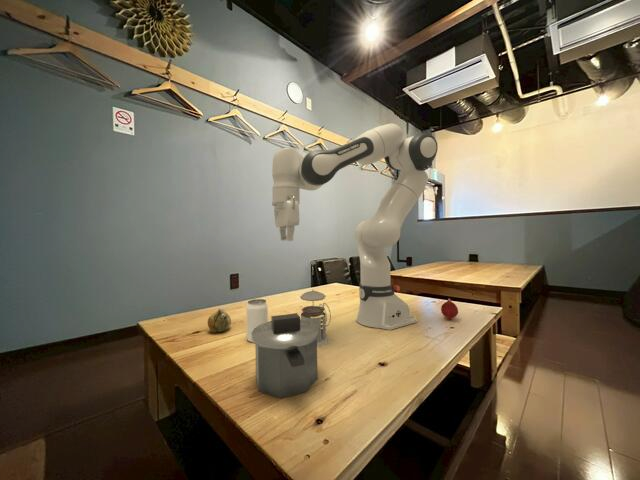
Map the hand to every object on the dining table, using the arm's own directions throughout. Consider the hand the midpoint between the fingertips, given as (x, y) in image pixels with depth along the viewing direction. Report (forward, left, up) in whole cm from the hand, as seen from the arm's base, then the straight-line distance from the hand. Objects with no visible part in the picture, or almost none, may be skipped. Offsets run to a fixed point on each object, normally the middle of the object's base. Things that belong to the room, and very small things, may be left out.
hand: (286, 240), depth 82 cm
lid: (+6, +25, -21) cm, 33 cm away
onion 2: (-61, +9, -31) cm, 69 cm away
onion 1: (+21, -12, -31) cm, 40 cm away
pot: (+6, +25, -31) cm, 40 cm away
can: (+10, 0, -31) cm, 33 cm away
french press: (-7, +8, -31) cm, 33 cm away
